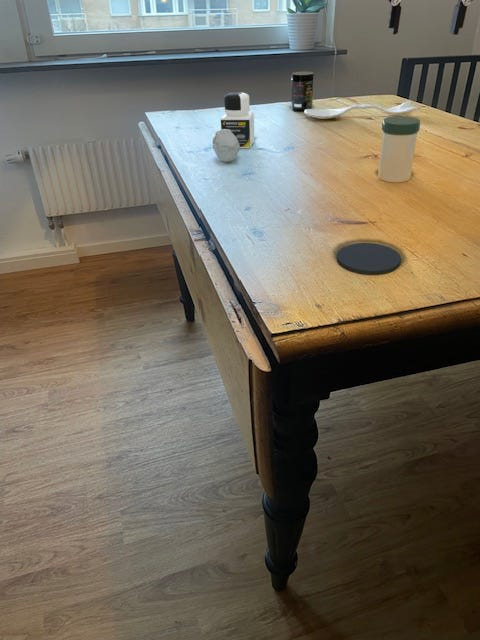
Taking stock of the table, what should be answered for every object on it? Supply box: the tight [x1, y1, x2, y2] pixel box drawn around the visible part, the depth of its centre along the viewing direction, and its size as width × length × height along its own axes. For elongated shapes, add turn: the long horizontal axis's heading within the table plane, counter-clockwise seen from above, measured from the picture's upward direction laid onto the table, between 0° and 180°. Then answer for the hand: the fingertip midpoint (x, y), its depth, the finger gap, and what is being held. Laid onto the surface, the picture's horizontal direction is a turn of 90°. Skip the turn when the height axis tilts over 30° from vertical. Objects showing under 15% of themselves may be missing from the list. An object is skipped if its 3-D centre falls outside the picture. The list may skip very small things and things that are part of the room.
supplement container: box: [290, 71, 315, 113], centre depth 155 cm, size 7×7×10 cm
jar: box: [377, 130, 418, 183], centre depth 99 cm, size 6×6×10 cm
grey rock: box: [212, 128, 240, 163], centre depth 113 cm, size 6×7×7 cm
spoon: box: [304, 100, 421, 120], centre depth 145 cm, size 9×32×4 cm, turn 89°
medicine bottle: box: [220, 91, 255, 149], centre depth 123 cm, size 7×7×12 cm
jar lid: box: [381, 115, 421, 135], centre depth 96 cm, size 7×7×2 cm
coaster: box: [336, 242, 402, 276], centre depth 72 cm, size 9×9×1 cm
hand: (423, 33), depth 83 cm, fingers open, 9 cm apart
